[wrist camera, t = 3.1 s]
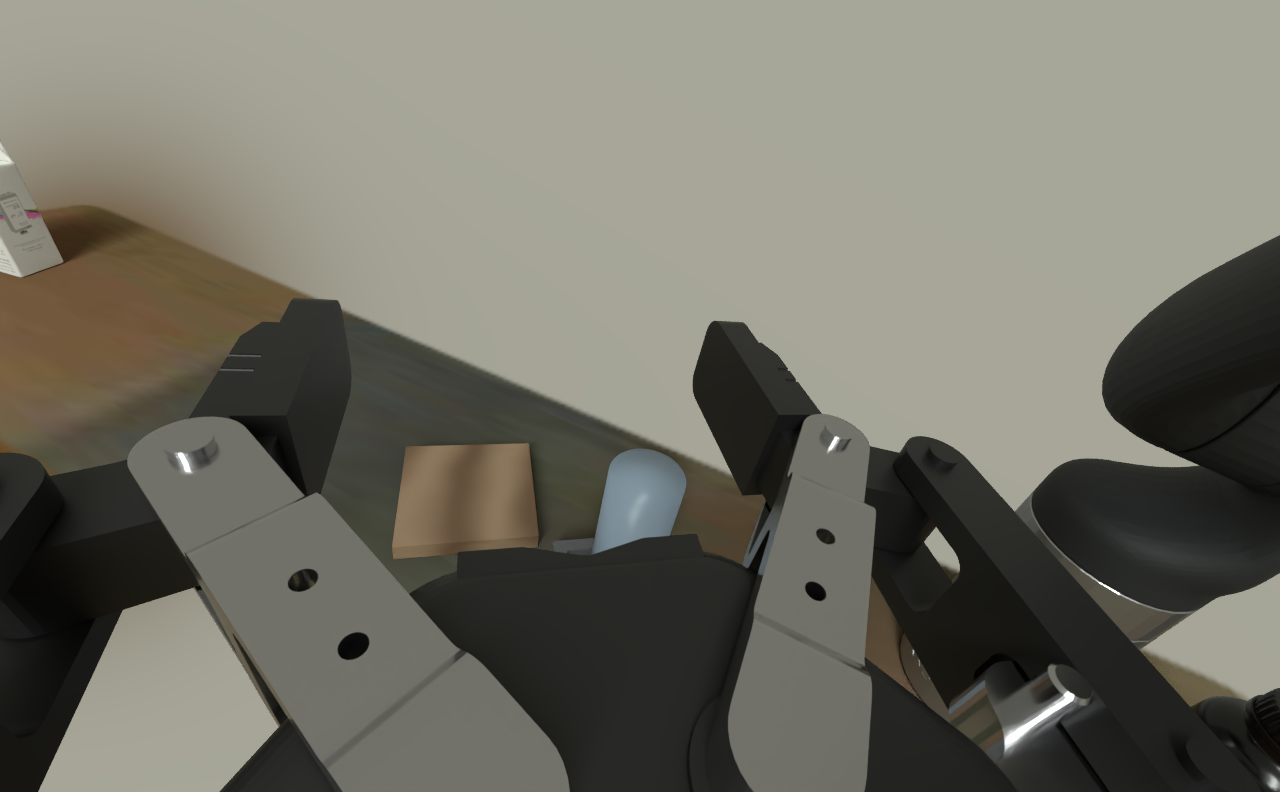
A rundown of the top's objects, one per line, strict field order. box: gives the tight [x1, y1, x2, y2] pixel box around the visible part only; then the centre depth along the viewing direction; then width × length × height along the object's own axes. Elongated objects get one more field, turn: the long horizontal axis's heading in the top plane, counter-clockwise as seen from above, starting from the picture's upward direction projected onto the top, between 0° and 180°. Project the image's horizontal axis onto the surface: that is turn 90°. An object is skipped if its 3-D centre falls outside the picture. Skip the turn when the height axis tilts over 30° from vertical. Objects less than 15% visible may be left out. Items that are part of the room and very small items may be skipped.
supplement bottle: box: [1191, 688, 1280, 792], centre depth 34 cm, size 7×7×12 cm
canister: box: [591, 449, 686, 555], centre depth 38 cm, size 5×5×14 cm
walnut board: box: [392, 443, 539, 559], centre depth 46 cm, size 11×11×2 cm
